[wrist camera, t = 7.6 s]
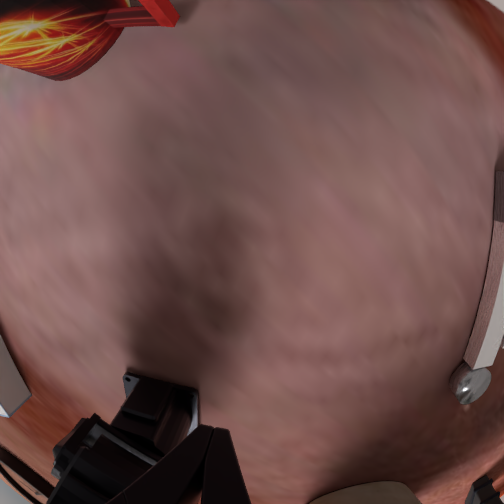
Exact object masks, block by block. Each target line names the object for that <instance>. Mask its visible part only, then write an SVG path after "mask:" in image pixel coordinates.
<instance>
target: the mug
mask: <svg viewBox="0 0 504 504" xmlns="http://www.w3.org/2000/svg"><path fill="white" fill-rule="evenodd" d="M138 1H139V2H140V3H141V4H142V5H143V6H137V7H130V0H0V63H1V64H4V65H8V66H11V67H15V68H18V69H21V70H25V71H28V72H31V73H34V74H37V75H40V76H43V77H46V78H49V79H52V80H55V81H63V80H68V79H71V78H73V77H76V76H78V75H80V74H81V73H83V72H84V71H86V70H88V69H89V68H90V67H91V66H93V65H94V64H95V63H97V62H98V61H99V60H100V59H101V58H102V57H103V56H104V55H105V54H106V53H107V51H108V50H109V49H110V48H111V47H112V46H113V44H114V43H115V42H116V40H117V39H118V37H119V36H120V34H121V32H122V30H123V29H124V27H133V26H166V27H175V25H176V23H177V21H178V19H179V17H180V16H179V14H178V13H177V11H176V10H175V8H174V7H173V5H172V4H171V2H170V1H169V0H138Z"/></svg>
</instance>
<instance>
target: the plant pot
mask: <svg viewBox="0 0 504 504" xmlns="http://www.w3.org/2000/svg"><path fill="white" fill-rule="evenodd" d="M309 504H422V503H421V502H420V501H419V500H418V498H417V497H416V496H415V495H414V494H413V492H412V491H411V490H410V489H409V488H408V487H407V486H406V485H405V484H403V483H400V482H395V481H381V482H372V483H366V484H361V485H356V486H352V487H348V488H345V489H341V490H338V491H335V492H332V493H329V494H327V495H324V496H322V497H320V498H317V499H315V500H314V501H312V502H310V503H309Z"/></svg>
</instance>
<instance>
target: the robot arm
mask: <svg viewBox="0 0 504 504" xmlns="http://www.w3.org/2000/svg"><path fill="white" fill-rule="evenodd" d="M129 378H130V379H129ZM123 382H124V388H125V393H126V398H127V399H126V400H125V402H124V403H123V404H122V406H121V409H120V410H119V412H118V413H117V415H116V416H115V418H114V419H113V421H112V422H111V424H110V425H109V424H108V423H106V422H105V421H104V420H102V419H101V417H100V416H98V415H97V414H96V413H94V414H93V415H92V417H91V418H90V419H89V418H87V419H86V418H81V420H80V421H79V422H78V424H77V425H76V426H75V427H74V429H73V430H72V431H71V432H70V433H69V434H68V435H67V436H65V437H64V438H63V439H62V440H61V441H60V442H59V443H58V444H56V445H55V447H54V448H53V450H52V451H53V455H54V458H55V461H54V463H53V465H54V467H53V469H52V472H51V474H52V475H53V476H54V477H56V478H57V479H59V482H58V483H57V485H56V487H55V488H54V490H53V492H52V493H51V495H50V497H49V499H48V500H47V502H46V504H198V502H199V499H200V497H201V504H251V501H250V498H249V495H248V492H247V489H246V486H245V483H244V479H243V476H242V473H241V470H240V466H239V463H238V459H237V456H236V453H235V449H234V446H233V442H232V438H231V435H230V431H229V430H228V429H224V428H219V427H216V428H214V427H212V426H208V425H203V424H200V425H198V392H197V390H195V389H193V388H190V387H185V386H180V385H176V384H172V383H167V382H163V381H159V380H155V379H151V378H148V377H144V376H140V375H137V374H133V373H130V372H126V373H125V374H124V376H123ZM190 393H191V394H193V395H191V394H190ZM201 494H202V495H201Z"/></svg>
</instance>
